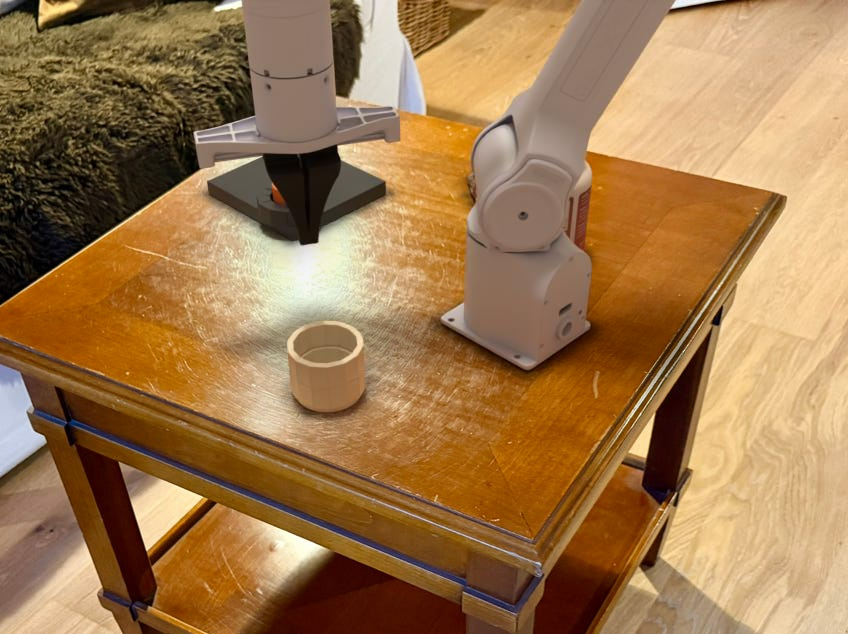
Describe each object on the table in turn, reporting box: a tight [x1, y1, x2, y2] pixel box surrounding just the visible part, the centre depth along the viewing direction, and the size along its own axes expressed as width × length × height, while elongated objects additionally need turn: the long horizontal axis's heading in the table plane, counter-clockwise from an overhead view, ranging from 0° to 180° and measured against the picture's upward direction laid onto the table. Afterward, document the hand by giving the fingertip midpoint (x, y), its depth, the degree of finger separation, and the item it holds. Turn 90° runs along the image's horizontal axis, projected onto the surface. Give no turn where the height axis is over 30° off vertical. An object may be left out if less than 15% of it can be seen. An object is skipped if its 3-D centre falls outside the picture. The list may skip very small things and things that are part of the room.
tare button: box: [272, 183, 286, 205], centre depth 93 cm, size 3×3×2 cm
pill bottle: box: [563, 151, 593, 252], centre depth 86 cm, size 6×6×11 cm
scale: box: [206, 154, 387, 242], centre depth 98 cm, size 14×13×3 cm
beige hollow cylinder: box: [286, 320, 367, 413], centre depth 76 cm, size 6×6×4 cm
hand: (307, 237), depth 78 cm, fingers closed
